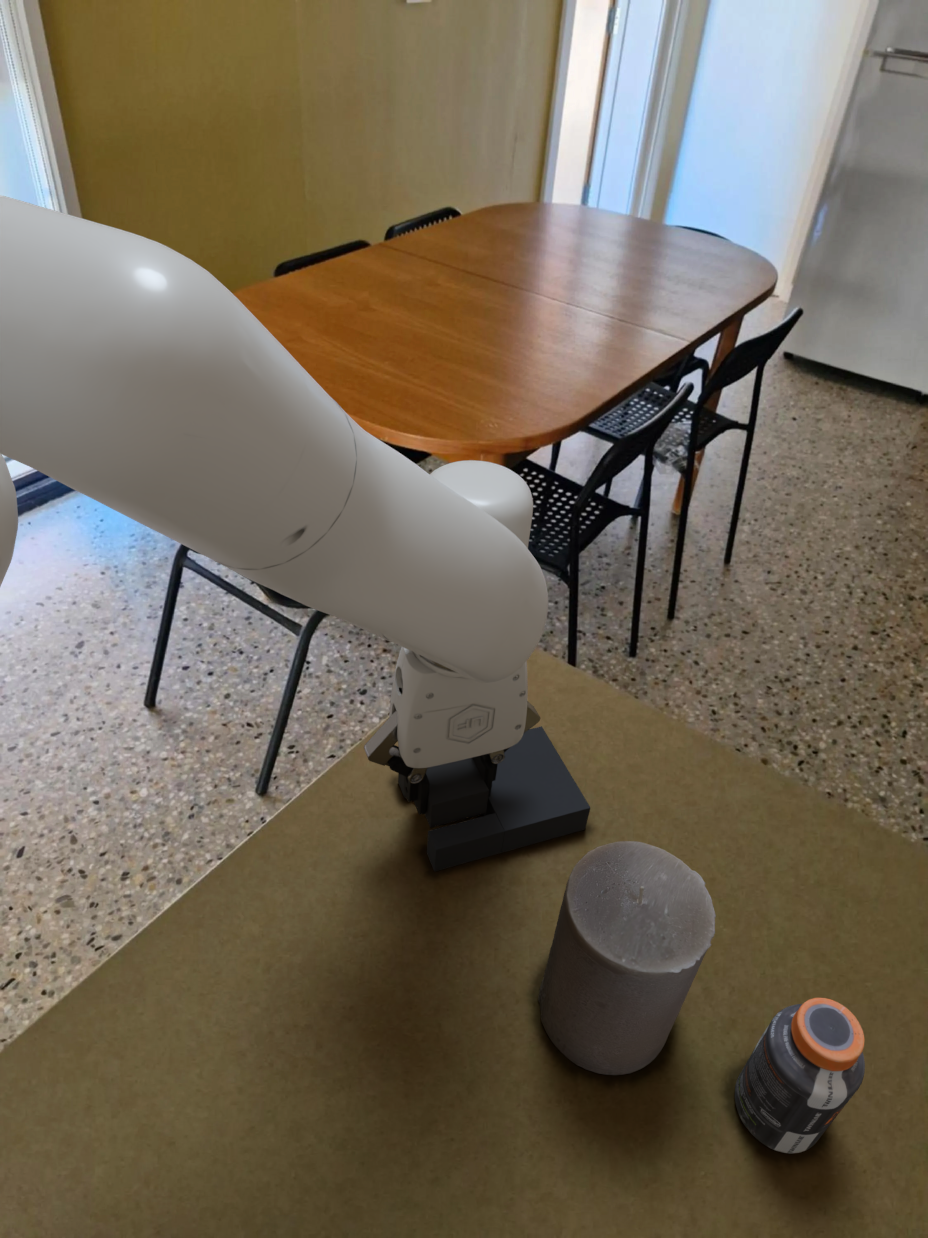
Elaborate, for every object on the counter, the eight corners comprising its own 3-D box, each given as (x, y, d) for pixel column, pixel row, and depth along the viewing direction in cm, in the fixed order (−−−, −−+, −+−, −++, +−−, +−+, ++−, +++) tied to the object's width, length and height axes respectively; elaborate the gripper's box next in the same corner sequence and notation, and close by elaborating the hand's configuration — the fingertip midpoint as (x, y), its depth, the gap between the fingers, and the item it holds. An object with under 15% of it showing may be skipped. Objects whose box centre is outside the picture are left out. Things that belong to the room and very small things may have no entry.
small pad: (430, 828, 73) (431, 804, 71) (411, 783, 77) (412, 760, 75) (486, 813, 75) (489, 790, 73) (465, 770, 78) (467, 747, 77)
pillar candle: (512, 988, 66) (536, 867, 56) (611, 927, 70) (649, 806, 61) (596, 1106, 60) (639, 993, 50) (699, 1030, 64) (756, 914, 55)
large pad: (434, 872, 73) (435, 850, 71) (397, 782, 80) (398, 759, 78) (585, 829, 78) (590, 807, 76) (538, 748, 85) (542, 726, 83)
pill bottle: (820, 1170, 58) (884, 1094, 50) (728, 1136, 59) (778, 1057, 52) (822, 1081, 62) (881, 1000, 55) (736, 1051, 63) (783, 967, 56)
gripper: (364, 686, 59) (364, 854, 70) (592, 640, 64) (557, 802, 75) (335, 617, 64) (339, 783, 75) (548, 580, 69) (522, 740, 81)
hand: (449, 791), depth 75 cm, fingers closed on small pad, 5 cm apart
